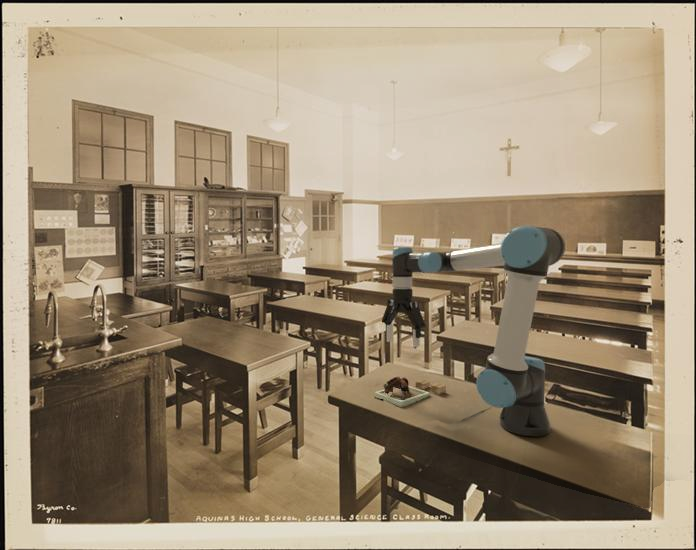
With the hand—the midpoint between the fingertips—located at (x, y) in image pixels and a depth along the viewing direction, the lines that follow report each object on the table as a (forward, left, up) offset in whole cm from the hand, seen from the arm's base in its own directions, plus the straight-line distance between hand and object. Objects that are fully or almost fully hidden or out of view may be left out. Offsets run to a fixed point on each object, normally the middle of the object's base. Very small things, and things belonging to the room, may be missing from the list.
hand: (402, 343), depth 155 cm
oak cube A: (-7, -13, -21) cm, 25 cm away
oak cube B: (0, -12, -21) cm, 24 cm away
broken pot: (0, -1, -21) cm, 21 cm away
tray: (0, 0, -21) cm, 21 cm away
